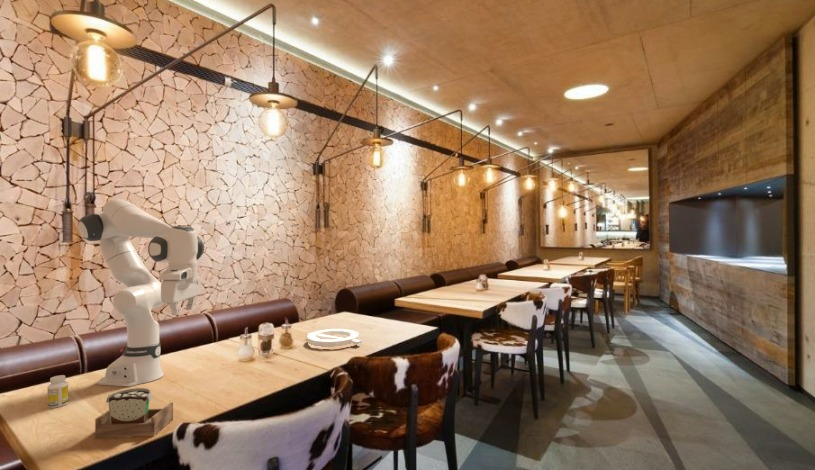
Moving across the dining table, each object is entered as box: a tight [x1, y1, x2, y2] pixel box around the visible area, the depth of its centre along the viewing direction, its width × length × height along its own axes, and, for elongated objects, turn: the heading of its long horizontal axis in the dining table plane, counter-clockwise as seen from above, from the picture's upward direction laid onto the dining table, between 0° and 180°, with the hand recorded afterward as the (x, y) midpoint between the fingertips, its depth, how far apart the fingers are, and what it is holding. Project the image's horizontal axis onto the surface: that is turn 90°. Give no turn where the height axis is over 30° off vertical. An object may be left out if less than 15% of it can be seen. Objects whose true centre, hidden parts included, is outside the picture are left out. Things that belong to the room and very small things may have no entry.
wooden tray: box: [94, 402, 174, 439], centre depth 120 cm, size 10×17×6 cm, turn 93°
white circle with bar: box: [306, 328, 362, 347], centre depth 217 cm, size 28×28×5 cm
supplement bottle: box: [46, 374, 69, 409], centre depth 136 cm, size 5×5×10 cm
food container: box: [105, 387, 153, 424], centre depth 119 cm, size 12×6×10 cm, turn 94°
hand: (182, 312), depth 136 cm, fingers open, 8 cm apart
